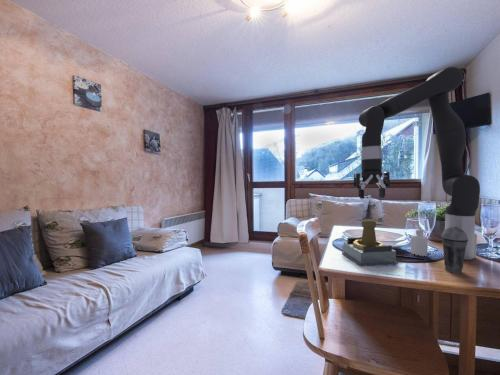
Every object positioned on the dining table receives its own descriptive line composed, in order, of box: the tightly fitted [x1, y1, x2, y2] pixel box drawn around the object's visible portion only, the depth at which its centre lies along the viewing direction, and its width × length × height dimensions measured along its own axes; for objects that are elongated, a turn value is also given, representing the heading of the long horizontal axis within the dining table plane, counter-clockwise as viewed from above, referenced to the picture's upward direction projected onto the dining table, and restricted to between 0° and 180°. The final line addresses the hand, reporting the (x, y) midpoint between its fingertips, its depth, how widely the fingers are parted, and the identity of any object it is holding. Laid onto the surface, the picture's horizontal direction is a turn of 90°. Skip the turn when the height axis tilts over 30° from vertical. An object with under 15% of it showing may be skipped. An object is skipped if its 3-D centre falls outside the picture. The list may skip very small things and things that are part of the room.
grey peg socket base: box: [341, 236, 399, 267], centre depth 101 cm, size 15×15×7 cm
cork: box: [361, 218, 377, 246], centre depth 100 cm, size 6×6×11 cm
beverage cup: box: [440, 215, 468, 275], centre depth 86 cm, size 7×7×20 cm
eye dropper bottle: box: [410, 226, 429, 257], centre depth 103 cm, size 4×6×12 cm
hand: (371, 198), depth 101 cm, fingers open, 8 cm apart
